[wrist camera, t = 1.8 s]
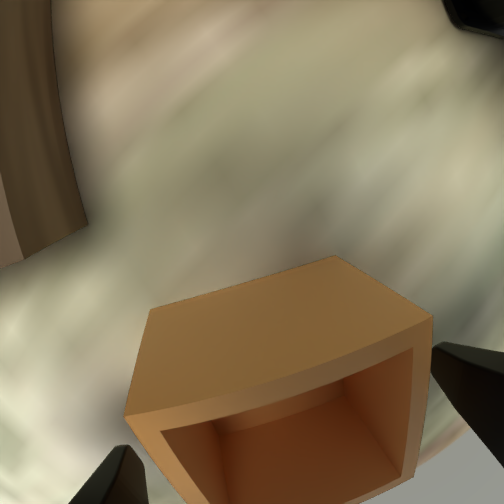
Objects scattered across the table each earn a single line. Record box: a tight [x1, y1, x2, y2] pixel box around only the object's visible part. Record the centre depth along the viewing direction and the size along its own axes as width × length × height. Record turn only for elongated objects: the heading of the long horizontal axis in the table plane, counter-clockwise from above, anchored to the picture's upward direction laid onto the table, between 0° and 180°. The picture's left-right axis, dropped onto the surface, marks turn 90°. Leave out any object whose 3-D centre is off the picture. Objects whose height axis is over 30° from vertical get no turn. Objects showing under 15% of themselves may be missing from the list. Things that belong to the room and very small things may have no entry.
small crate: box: [123, 256, 433, 504], centre depth 8 cm, size 6×6×5 cm
